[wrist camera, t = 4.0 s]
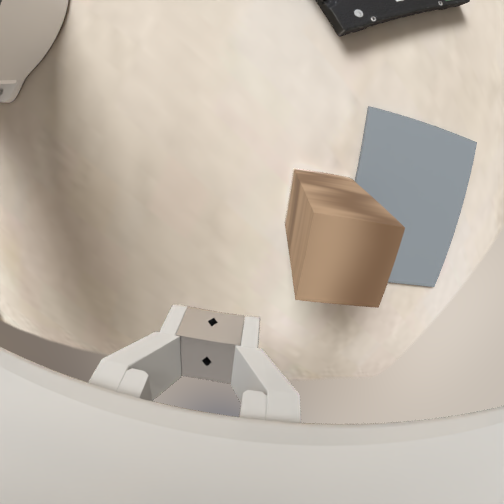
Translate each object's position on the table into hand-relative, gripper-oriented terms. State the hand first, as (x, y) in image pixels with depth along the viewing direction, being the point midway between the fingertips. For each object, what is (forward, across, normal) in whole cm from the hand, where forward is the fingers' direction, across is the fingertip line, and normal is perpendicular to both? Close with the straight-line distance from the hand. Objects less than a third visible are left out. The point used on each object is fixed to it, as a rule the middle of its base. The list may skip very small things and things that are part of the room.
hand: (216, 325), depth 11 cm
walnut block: (+18, -6, 0) cm, 19 cm away
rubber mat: (+18, -15, -1) cm, 23 cm away
